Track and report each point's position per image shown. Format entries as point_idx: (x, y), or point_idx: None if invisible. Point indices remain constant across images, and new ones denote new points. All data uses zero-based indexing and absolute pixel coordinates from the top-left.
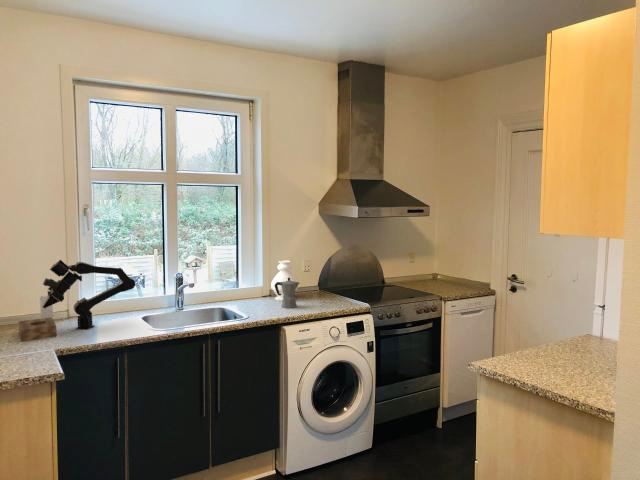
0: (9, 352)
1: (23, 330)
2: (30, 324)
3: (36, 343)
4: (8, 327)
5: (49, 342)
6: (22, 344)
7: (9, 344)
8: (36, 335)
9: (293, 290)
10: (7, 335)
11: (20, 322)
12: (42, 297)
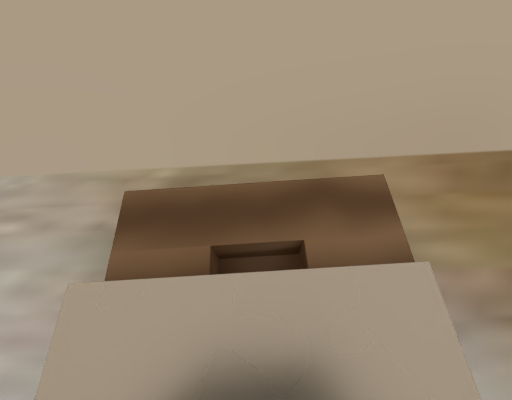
0: (7, 187)
1: (124, 209)
2: (244, 242)
3: (56, 289)
4: (479, 162)
5: (13, 362)
6: (93, 228)
7: (137, 181)
8: None
9: None
10: (309, 167)
11: (340, 186)
12: (131, 361)
